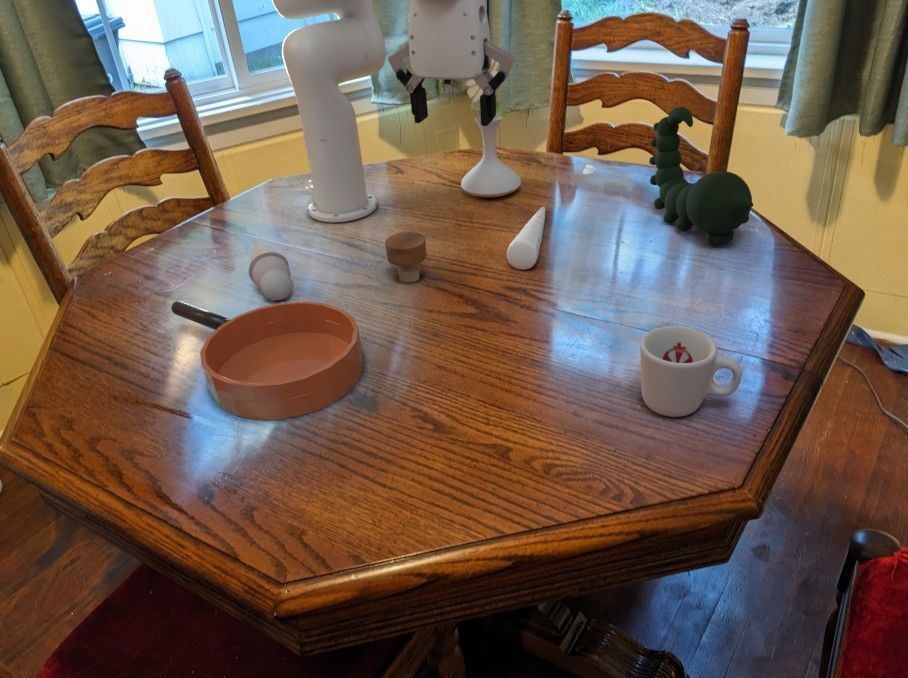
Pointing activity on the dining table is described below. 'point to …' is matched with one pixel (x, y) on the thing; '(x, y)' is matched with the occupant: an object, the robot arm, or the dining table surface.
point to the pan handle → (198, 315)
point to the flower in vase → (489, 155)
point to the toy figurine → (696, 188)
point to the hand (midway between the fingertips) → (453, 121)
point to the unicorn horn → (527, 243)
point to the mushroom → (406, 254)
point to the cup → (681, 370)
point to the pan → (283, 360)
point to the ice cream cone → (270, 272)
